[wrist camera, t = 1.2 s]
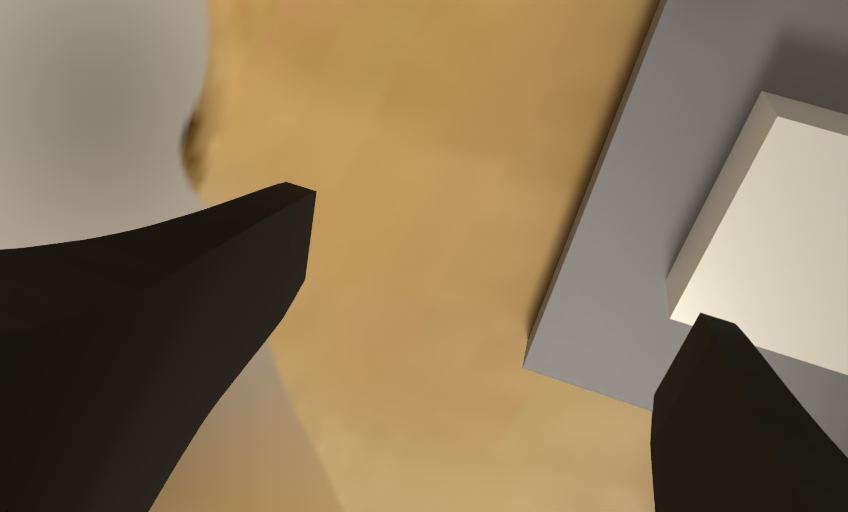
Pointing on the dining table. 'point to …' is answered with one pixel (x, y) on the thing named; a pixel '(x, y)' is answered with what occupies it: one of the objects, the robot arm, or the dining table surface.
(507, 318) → the dining table surface
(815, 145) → the tile
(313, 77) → the dining table surface
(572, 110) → the dining table surface
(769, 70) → the grey flat slab
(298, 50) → the dining table surface
